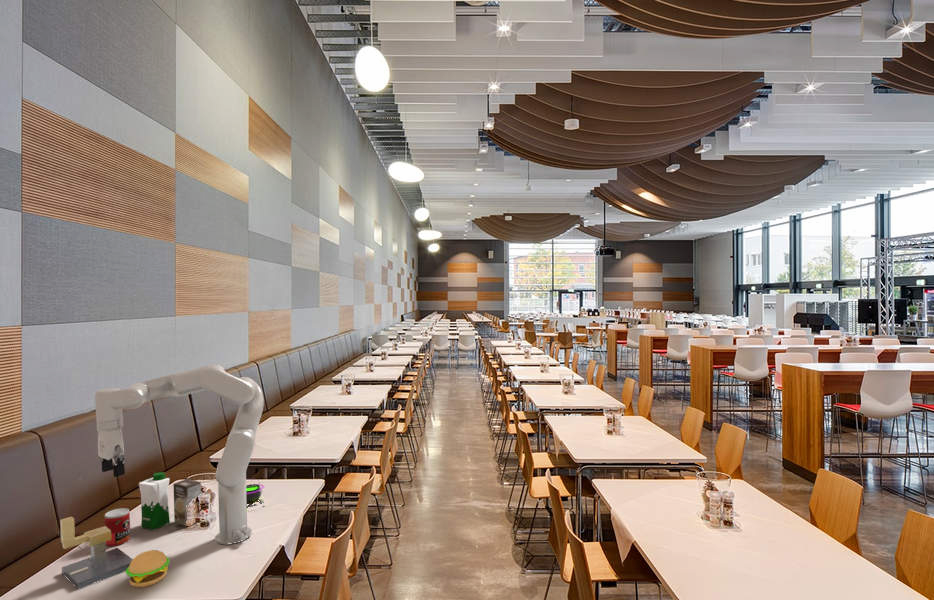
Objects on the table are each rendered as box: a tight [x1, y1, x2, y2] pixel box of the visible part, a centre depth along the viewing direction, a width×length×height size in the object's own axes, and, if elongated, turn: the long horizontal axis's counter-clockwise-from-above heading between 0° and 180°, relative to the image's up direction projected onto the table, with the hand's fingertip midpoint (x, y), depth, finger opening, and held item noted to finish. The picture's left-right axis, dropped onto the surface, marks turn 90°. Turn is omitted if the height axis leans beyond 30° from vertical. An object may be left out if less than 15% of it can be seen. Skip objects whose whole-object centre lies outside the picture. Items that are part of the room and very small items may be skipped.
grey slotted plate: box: [61, 542, 134, 590], centre depth 171 cm, size 16×16×9 cm
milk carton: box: [138, 471, 171, 531], centre depth 204 cm, size 9×9×20 cm
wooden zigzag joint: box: [59, 516, 111, 550], centre depth 168 cm, size 12×6×10 cm, turn 140°
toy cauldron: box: [246, 478, 265, 508], centre depth 222 cm, size 15×15×11 cm
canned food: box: [104, 507, 131, 547], centre depth 191 cm, size 8×8×11 cm
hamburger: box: [125, 549, 170, 588], centre depth 165 cm, size 12×12×9 cm
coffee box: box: [172, 478, 202, 526], centre depth 206 cm, size 9×6×16 cm
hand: (113, 473), depth 178 cm, fingers open, 9 cm apart
